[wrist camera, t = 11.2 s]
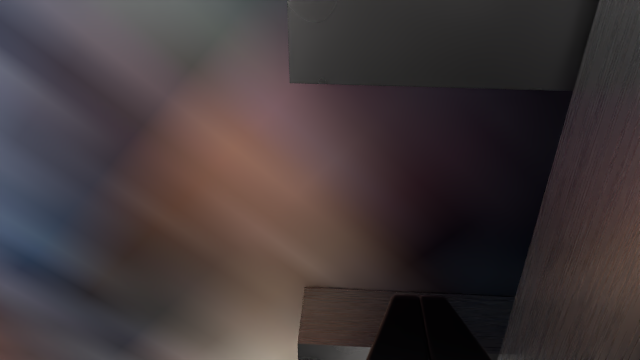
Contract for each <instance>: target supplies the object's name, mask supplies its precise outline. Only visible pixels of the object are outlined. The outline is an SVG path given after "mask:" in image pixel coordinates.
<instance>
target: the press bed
mask: <svg viewBox="0 0 640 360" xmlns="http://www.w3.org/2000/svg"><path fill="white" fill-rule="evenodd" d="M598 2H599V0H287V8H288V41H289V74H290V83H305V84H342V85H378V86H414V87H450V88H486V89H522V90H558V91H574V87H575V84H576V80H577V77H578V73H579V69H580V66H581V62H582V59H583V55H584V52H585V48H586V45H587V41H588V38H589V34H590V30H591V27H592V23H593V20H594V16H595V13H596V9H597V6H598ZM393 295H416V296H418V297H420V296H442V297H444V298H446V299H447V300H448V301H449V303H450V304H451V305H452V307H453V308H454V309H455V311H456V312H457V313H458V315H459V316H460V317H461V319H462V320H463V321H464V323H465V324H466V325H467V327H468V328H469V330H470V331H471V332H472V334H473V335H474V336H475V338H476V339H477V340H478V342H479V343H480V344H481V346H482V347H483V348H484V350H485V351H486V352H487V354H488V355H489V356H490V358H491V359H492V360H498V356H499V353H500V349H501V346H502V342H503V339H504V335H505V332H506V328H507V325H508V321H509V317H510V314H511V310H512V307H513V303H514V300H515V297H499V296H478V295H457V294H437V293H416V292H395V291H374V290H353V289H332V288H311V287H305V289H304V297H303V305H302V314H301V322H300V330H299V338H298V360H366V359H367V356H368V354H369V351H370V349H371V346H372V344H373V341H374V339H375V336H376V334H377V332H378V329H379V327H380V324H381V322H382V319H383V317H384V314H385V312H386V309H387V307H388V304H389V302H390V300H391V298H392V296H393Z"/></svg>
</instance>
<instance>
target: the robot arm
mask: <svg viewBox="0 0 640 360" xmlns="http://www.w3.org/2000/svg"><path fill="white" fill-rule="evenodd" d="M366 360H492V359H491V358H490V356H489V355H488V354H487V352H486V351H485V350H484V348H483V347H482V346H481V344H480V343H479V342H478V340H477V339H476V338H475V336H474V335H473V334H472V332H471V331H470V330H469V328H468V327H467V325H466V324H465V323H464V321H463V320H462V319H461V317H460V316H459V315H458V313H457V312H456V311H455V309H454V308H453V307H452V305H451V304H450V303H449V301H448V300H447V299H446V298H444V297H442V296H420V297H418V296H416V295H393V296H392V298H391V300H390V302H389V304H388V307H387V309H386V312H385V314H384V317H383V319H382V322H381V324H380V327H379V329H378V332H377V334H376V336H375V339H374V341H373V344H372V346H371V349H370V351H369V354H368V356H367V359H366Z"/></svg>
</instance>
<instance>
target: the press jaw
mask: <svg viewBox="0 0 640 360" xmlns="http://www.w3.org/2000/svg"><path fill="white" fill-rule="evenodd" d="M498 360H640V0H599V2H598V6H597V9H596V13H595V16H594V20H593V23H592V27H591V30H590V34H589V38H588V41H587V45H586V48H585V52H584V55H583V59H582V62H581V66H580V69H579V73H578V77H577V80H576V84H575V87H574V91H573V94H572V98H571V101H570V105H569V108H568V112H567V115H566V119H565V123H564V126H563V130H562V133H561V137H560V140H559V144H558V147H557V151H556V154H555V158H554V162H553V165H552V169H551V172H550V176H549V179H548V183H547V186H546V190H545V193H544V197H543V201H542V204H541V208H540V211H539V215H538V218H537V222H536V225H535V229H534V232H533V236H532V239H531V243H530V247H529V250H528V254H527V257H526V261H525V264H524V268H523V271H522V275H521V278H520V282H519V286H518V289H517V293H516V296H515V300H514V303H513V307H512V310H511V314H510V317H509V321H508V325H507V328H506V332H505V335H504V339H503V342H502V346H501V349H500V353H499V356H498Z"/></svg>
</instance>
